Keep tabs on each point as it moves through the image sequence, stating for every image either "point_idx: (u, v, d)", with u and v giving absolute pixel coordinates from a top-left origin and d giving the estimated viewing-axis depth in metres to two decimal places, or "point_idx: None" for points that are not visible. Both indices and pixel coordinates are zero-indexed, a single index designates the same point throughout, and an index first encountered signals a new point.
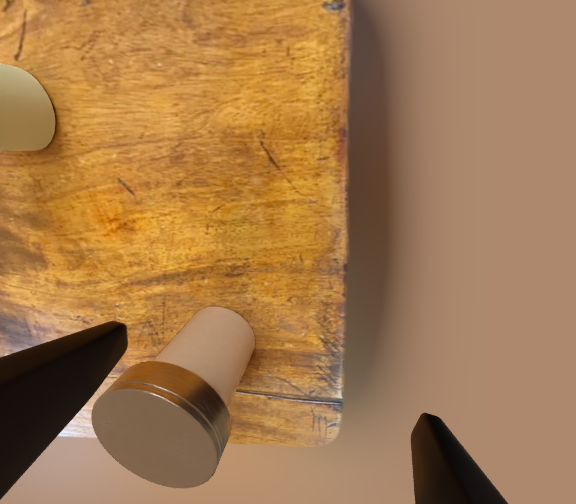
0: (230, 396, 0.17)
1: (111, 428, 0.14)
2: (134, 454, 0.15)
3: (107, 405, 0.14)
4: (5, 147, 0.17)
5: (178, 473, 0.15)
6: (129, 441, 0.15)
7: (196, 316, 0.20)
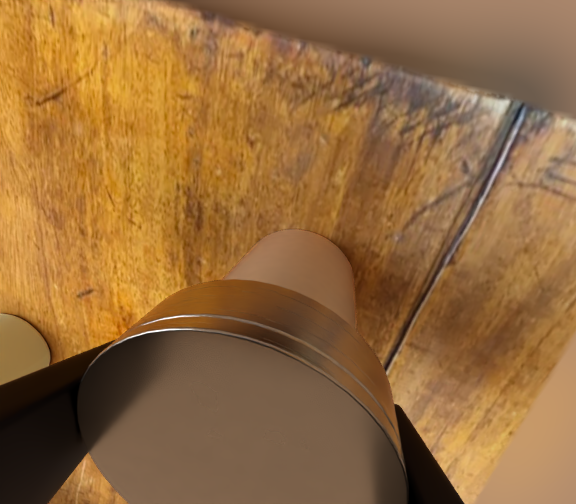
0: (303, 286, 0.08)
1: None
2: None
3: (126, 484, 0.07)
4: (7, 373, 0.17)
5: (344, 485, 0.05)
6: None
7: None
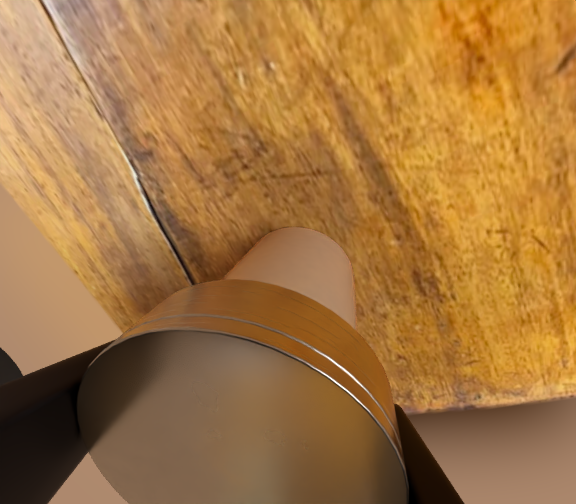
0: None
1: None
2: None
3: (126, 484, 0.07)
4: None
5: (344, 486, 0.05)
6: None
7: (341, 257, 0.12)
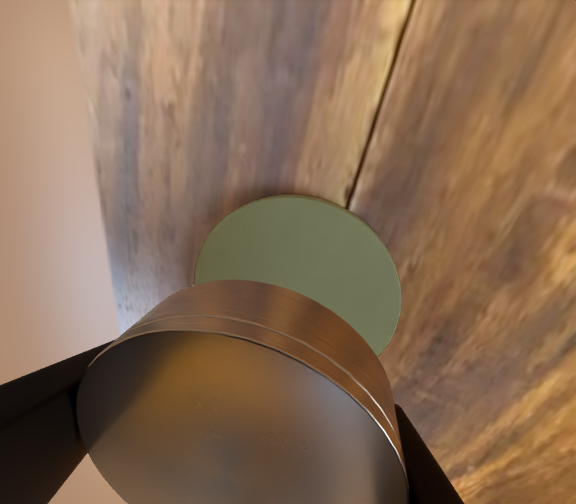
0: None
1: None
2: None
3: (126, 485, 0.07)
4: None
5: (344, 486, 0.05)
6: None
7: None
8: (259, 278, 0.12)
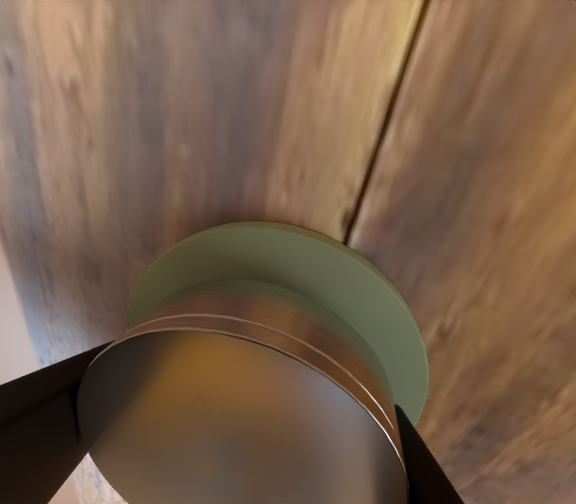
0: None
1: None
2: None
3: (126, 484, 0.07)
4: None
5: (344, 485, 0.05)
6: None
7: None
8: None
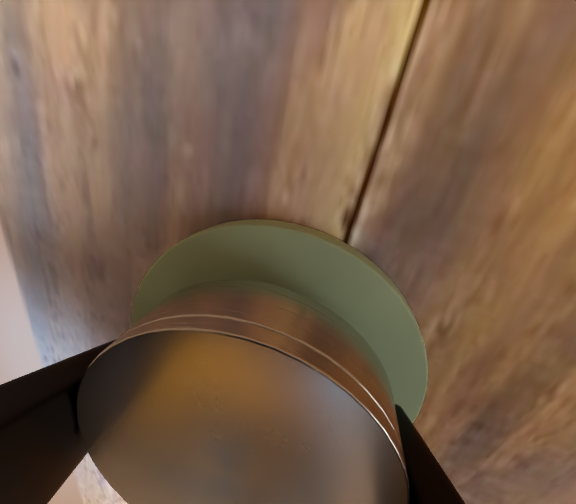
0: None
1: None
2: None
3: (126, 485, 0.07)
4: None
5: (344, 485, 0.05)
6: None
7: None
8: None
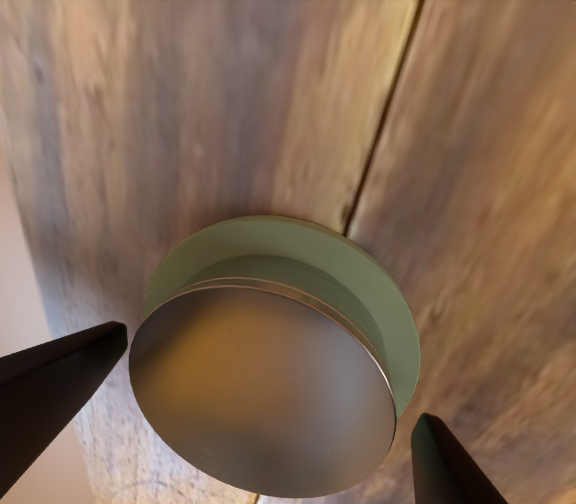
0: None
1: (217, 453, 0.08)
2: (282, 458, 0.08)
3: (166, 425, 0.08)
4: None
5: (345, 412, 0.07)
6: (248, 445, 0.08)
7: None
8: None
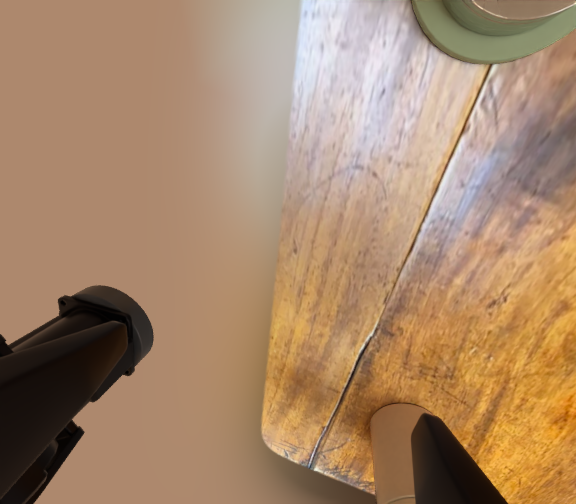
0: None
1: None
2: None
3: None
4: None
5: None
6: None
7: None
8: None
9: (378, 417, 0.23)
